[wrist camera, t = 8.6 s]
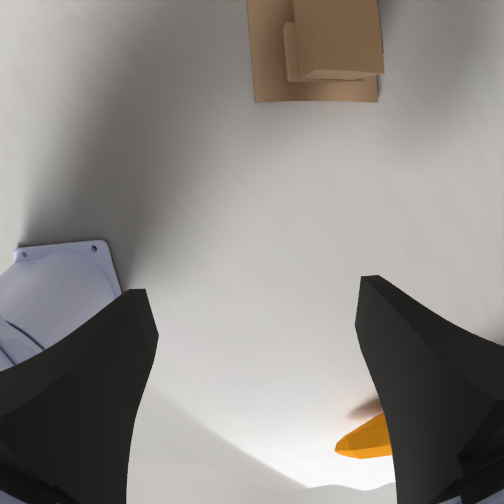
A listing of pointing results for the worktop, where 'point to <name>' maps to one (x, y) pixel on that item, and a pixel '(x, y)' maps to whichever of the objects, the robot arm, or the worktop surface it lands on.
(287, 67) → the display stand
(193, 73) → the worktop surface
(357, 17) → the long wooden plank
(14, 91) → the worktop surface
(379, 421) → the corn
